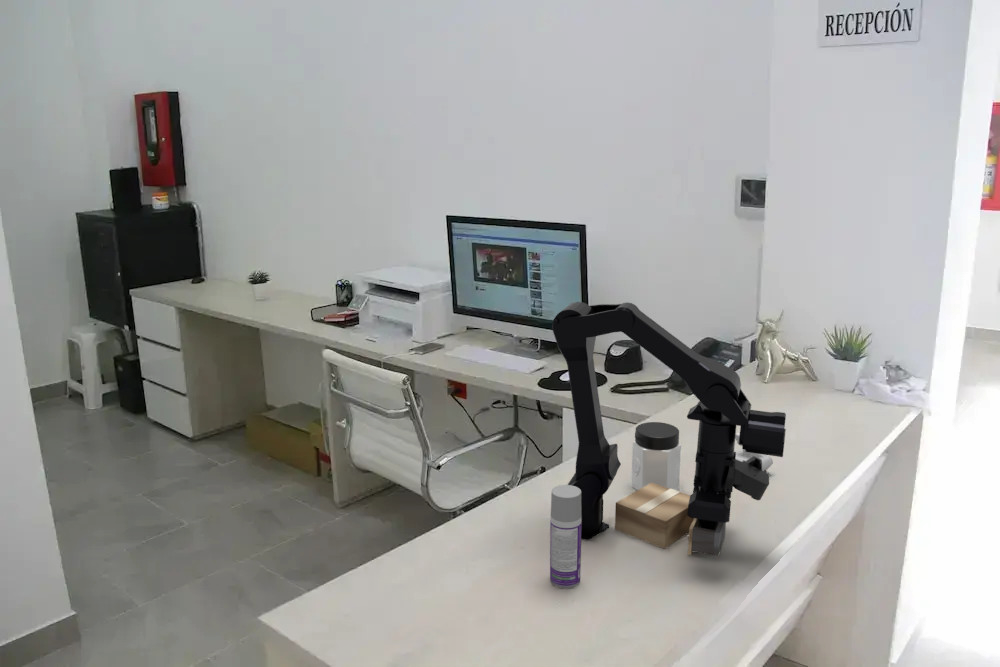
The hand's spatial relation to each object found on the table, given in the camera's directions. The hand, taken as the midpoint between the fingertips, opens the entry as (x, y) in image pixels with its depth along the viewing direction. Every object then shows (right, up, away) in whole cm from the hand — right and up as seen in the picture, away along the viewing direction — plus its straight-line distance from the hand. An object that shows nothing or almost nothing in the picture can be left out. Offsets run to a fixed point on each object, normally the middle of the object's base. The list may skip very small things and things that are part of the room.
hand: (708, 535), depth 137 cm
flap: (+1, -2, +2) cm, 3 cm away
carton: (-7, -1, +8) cm, 11 cm away
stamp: (+15, +5, +29) cm, 33 cm away
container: (-24, -5, -8) cm, 26 cm away
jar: (-4, +3, +23) cm, 24 cm away
